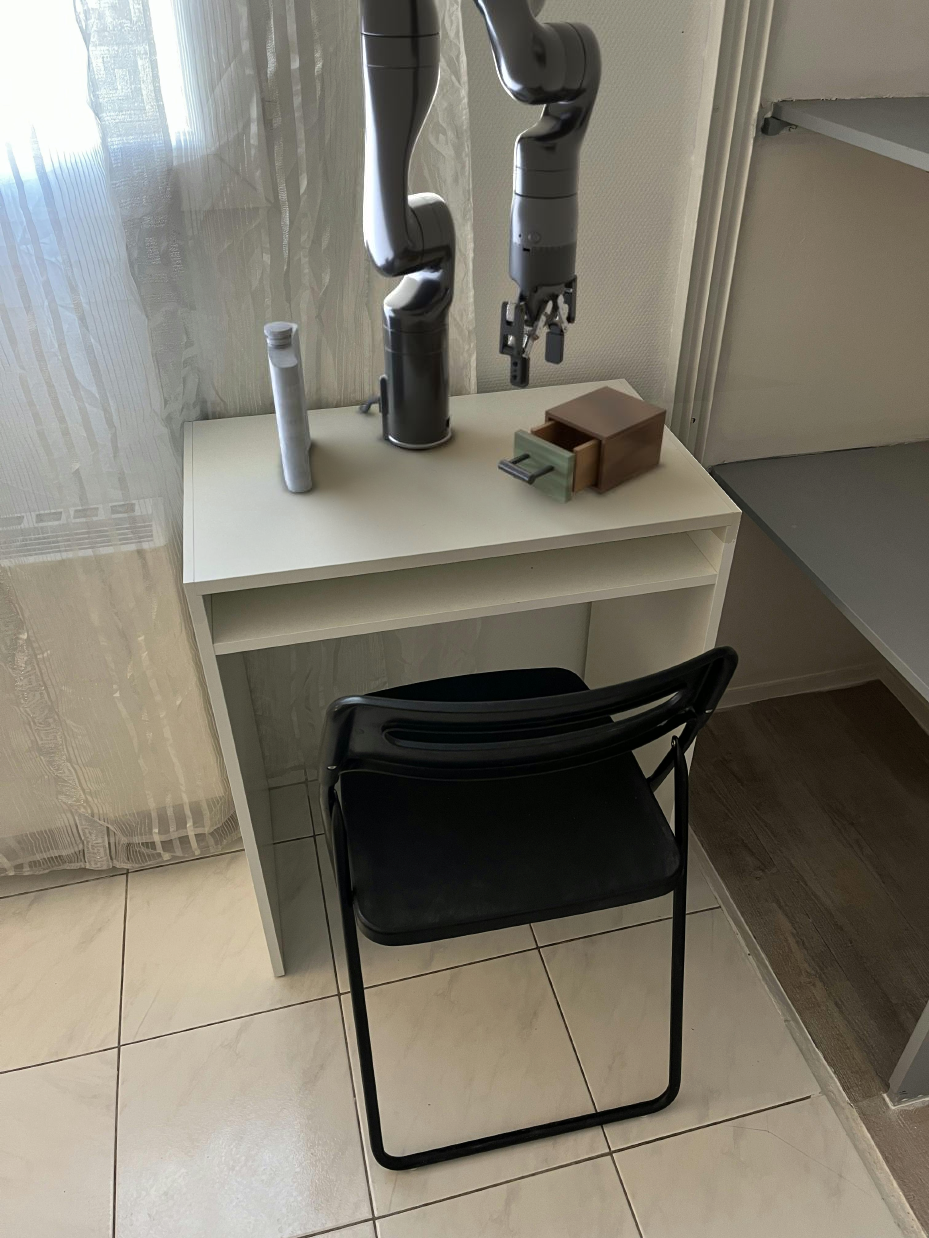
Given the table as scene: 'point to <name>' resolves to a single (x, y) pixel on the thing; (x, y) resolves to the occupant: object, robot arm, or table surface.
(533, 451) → the drawer
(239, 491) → the table surface
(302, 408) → the hip flask
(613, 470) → the cabinet
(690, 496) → the table surface
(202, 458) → the table surface
